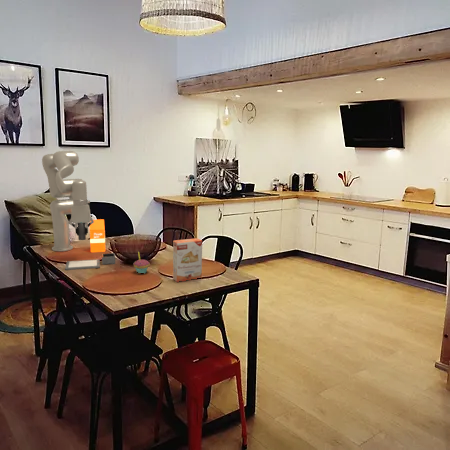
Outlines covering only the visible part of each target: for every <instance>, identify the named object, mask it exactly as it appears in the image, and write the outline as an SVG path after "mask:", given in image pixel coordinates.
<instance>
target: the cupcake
mask: <svg viewBox="0 0 450 450" xmlns="http://www.w3.org/2000/svg"><path fill="white" fill-rule="evenodd" d="M137 254H138V260H135V261H134V262H133V264H132V265H133V267H134V269H135V270H136V273H137V272H138V273H144V274H146V273H147V271H148V268H149V267H150V266H151V263H150V262H149V260H146V259H141V256H140V251H139V250H137ZM138 273H137V274H138Z"/></svg>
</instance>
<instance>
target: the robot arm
mask: <svg viewBox="0 0 450 450" xmlns="http://www.w3.org/2000/svg"><path fill="white" fill-rule="evenodd" d="M79 159H80V158H79V155H78V153H77V152H76V151H74V150H62V151H60V150H58V151H56V152H54V153H47V154H45V155H43V156H42V159H41V163H42V168H43V170H44V173H45V174H46V177H47V181H48V188H49V193H50V196H51V197H52V198H55V199H56V200H55V199H54V200H52V201H51V202H50V204H49V209H50V214H51V220H52V230H53V231H52V233H53V246H51V250H52V251H53V252H66V251H70V250H73V248H74V246H73V245H71V237H70V235H71V234H70V226H72V227H73V228H74V229H75V235H76V236H78V223H80V222H82V223H85V235H86V236H87V235H88V234H89V228H90V225H91V224H93V223H94V221H93V220H94V219H93V218H92V216H91V209H90V203H91V200H89V199H88V191H87V182H86V181H85V180H83V179H82V178H67V177H69V176H71V175H72V174H73V173H74V171H75V166H77V165H78V164H79V161H80V160H79ZM62 198H63V199H62ZM64 198H65V199H64ZM66 198H67V199H66ZM66 215H70V216H71V217H70V219H68V218H67V217H66ZM90 221H91V222H90Z"/></svg>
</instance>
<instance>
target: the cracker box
mask: <svg viewBox="0 0 450 450" xmlns="http://www.w3.org/2000/svg"><path fill="white" fill-rule="evenodd" d="M172 245H173V246H172V247H173V249H172V250H173V251H172V254H173V255H172V279H173V280H174V281H175V282H176V283H180V282H179V281H182V282H187V281H186V280H189V281H192V280H191V279H196V280H198V279H197V278H201V279H202V271H203V263H202V262H203V240H201V239H200V238H198V237H195V238H188V239H187V238H186V239H177V240H173V241H172Z"/></svg>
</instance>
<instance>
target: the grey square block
mask: <svg viewBox="0 0 450 450" xmlns="http://www.w3.org/2000/svg"><path fill="white" fill-rule="evenodd" d="M101 264H102V265H103V266H105V265H106V266H107V265H116V254H115V253H114V252H112V253H110V252H109V253H101ZM102 265H101V266H102Z"/></svg>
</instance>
